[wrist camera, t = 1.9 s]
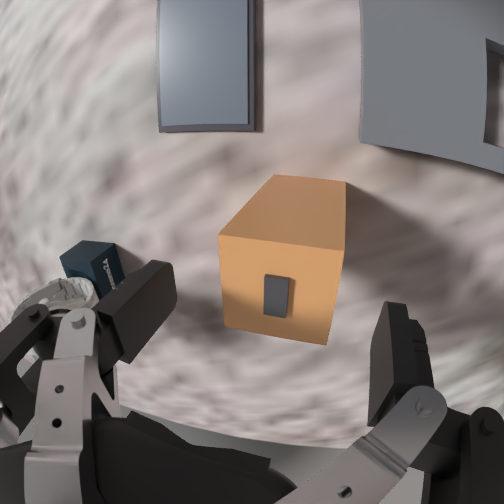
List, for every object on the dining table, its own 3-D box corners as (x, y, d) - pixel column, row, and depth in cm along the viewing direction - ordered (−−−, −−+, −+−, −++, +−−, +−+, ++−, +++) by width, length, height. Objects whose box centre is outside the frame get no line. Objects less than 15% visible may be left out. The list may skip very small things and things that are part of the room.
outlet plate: (351, -66, 7) (350, -85, 6) (543, -1, 4) (559, -6, 2) (358, 138, 14) (361, 143, 12) (545, 184, 10) (563, 196, 9)
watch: (148, 301, 25) (70, 392, 15) (88, 287, 27) (17, 356, 18) (131, 244, 22) (30, 331, 13) (71, 238, 24) (-15, 303, 15)
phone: (167, 130, 17) (158, 132, 16) (168, -42, 11) (159, -47, 10) (258, 129, 16) (253, 131, 15) (257, -61, 9) (252, -68, 8)
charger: (273, 174, 16) (215, 237, 9) (345, 181, 15) (344, 254, 8) (272, 238, 18) (222, 329, 11) (337, 247, 17) (325, 348, 10)
